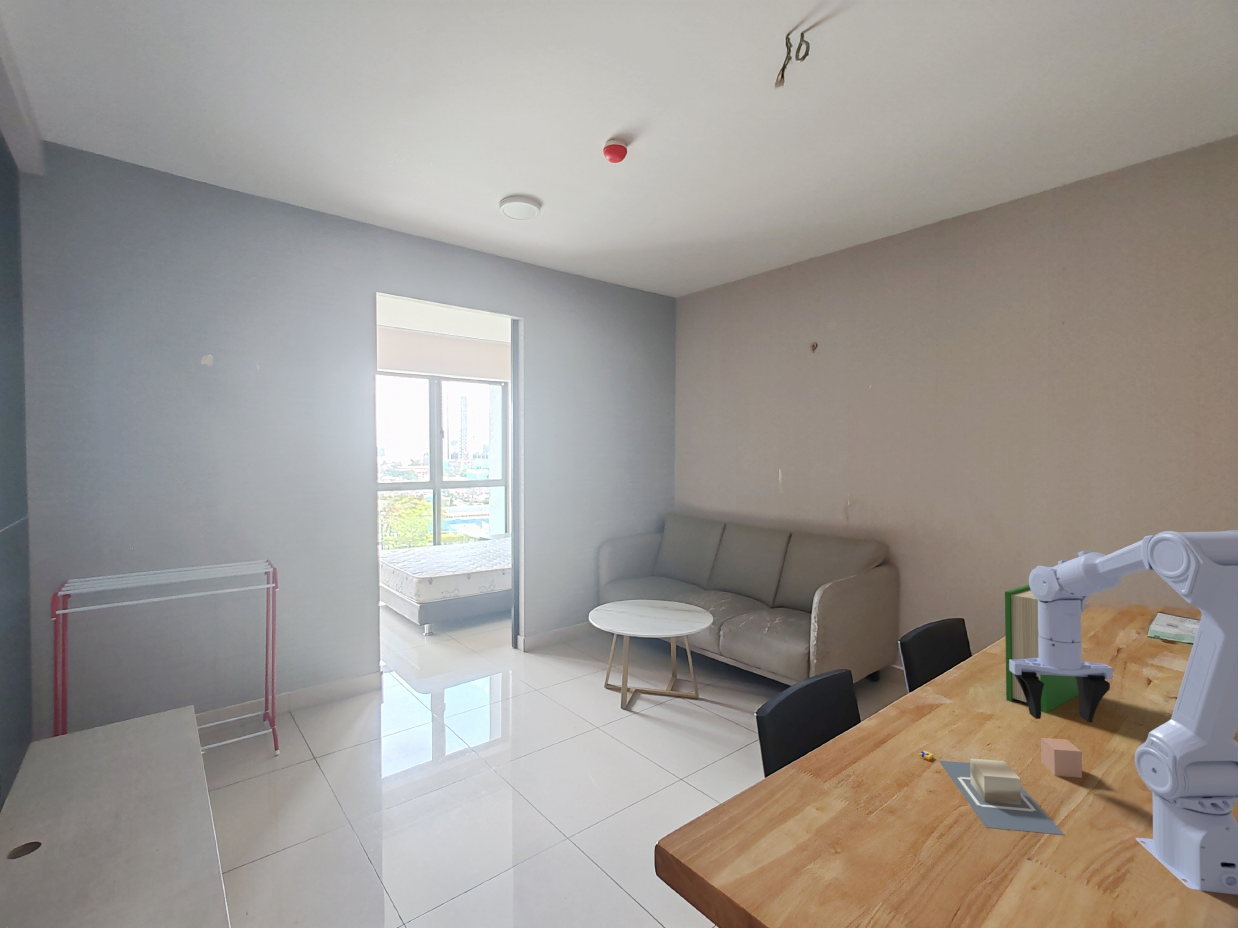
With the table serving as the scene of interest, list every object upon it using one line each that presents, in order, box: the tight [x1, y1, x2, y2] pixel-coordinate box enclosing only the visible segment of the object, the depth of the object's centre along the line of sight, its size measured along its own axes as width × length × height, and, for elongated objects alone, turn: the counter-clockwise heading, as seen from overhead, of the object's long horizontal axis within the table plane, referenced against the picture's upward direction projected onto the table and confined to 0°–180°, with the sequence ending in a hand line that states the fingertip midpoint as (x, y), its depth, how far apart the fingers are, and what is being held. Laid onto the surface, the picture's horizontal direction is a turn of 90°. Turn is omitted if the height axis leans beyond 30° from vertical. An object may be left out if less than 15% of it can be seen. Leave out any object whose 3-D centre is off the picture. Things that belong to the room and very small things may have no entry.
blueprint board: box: [938, 760, 1066, 836], centre depth 88 cm, size 18×10×1 cm, turn 169°
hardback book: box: [1004, 584, 1079, 714], centre depth 124 cm, size 18×7×24 cm, turn 122°
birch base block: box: [969, 758, 1022, 805], centre depth 88 cm, size 5×5×4 cm
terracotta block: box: [1040, 737, 1083, 779], centre depth 94 cm, size 4×4×5 cm
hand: (1060, 717), depth 94 cm, fingers open, 7 cm apart
